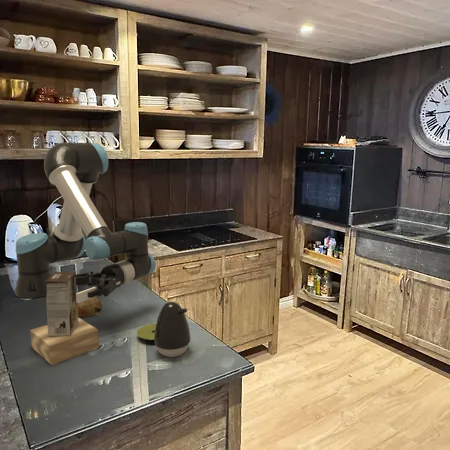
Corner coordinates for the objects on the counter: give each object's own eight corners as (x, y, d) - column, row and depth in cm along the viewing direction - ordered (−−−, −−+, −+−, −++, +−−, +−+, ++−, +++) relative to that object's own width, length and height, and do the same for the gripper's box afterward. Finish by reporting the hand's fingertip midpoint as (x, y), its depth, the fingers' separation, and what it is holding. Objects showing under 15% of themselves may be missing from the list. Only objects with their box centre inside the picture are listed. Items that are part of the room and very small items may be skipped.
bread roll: (88, 328, 141) (96, 309, 139) (62, 314, 142) (70, 295, 140) (102, 317, 151) (109, 299, 149) (78, 304, 152) (85, 286, 149)
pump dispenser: (176, 365, 110) (174, 312, 107) (147, 355, 115) (145, 304, 113) (198, 349, 119) (197, 300, 116) (170, 341, 124) (168, 293, 121)
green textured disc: (180, 333, 129) (180, 327, 129) (158, 348, 119) (158, 342, 119) (152, 326, 134) (152, 320, 134) (129, 339, 125) (128, 333, 124)
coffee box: (57, 323, 123) (54, 271, 121) (79, 322, 124) (76, 271, 121) (47, 336, 114) (43, 280, 112) (71, 335, 115) (68, 280, 112)
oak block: (32, 349, 120) (30, 330, 119) (77, 333, 130) (76, 316, 129) (51, 366, 111) (50, 346, 109) (99, 348, 120) (98, 329, 119)
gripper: (145, 292, 129) (91, 315, 111) (92, 279, 142) (36, 297, 124) (144, 269, 127) (89, 289, 110) (91, 258, 141) (34, 274, 123)
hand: (61, 293), depth 117 cm, fingers open, 13 cm apart
